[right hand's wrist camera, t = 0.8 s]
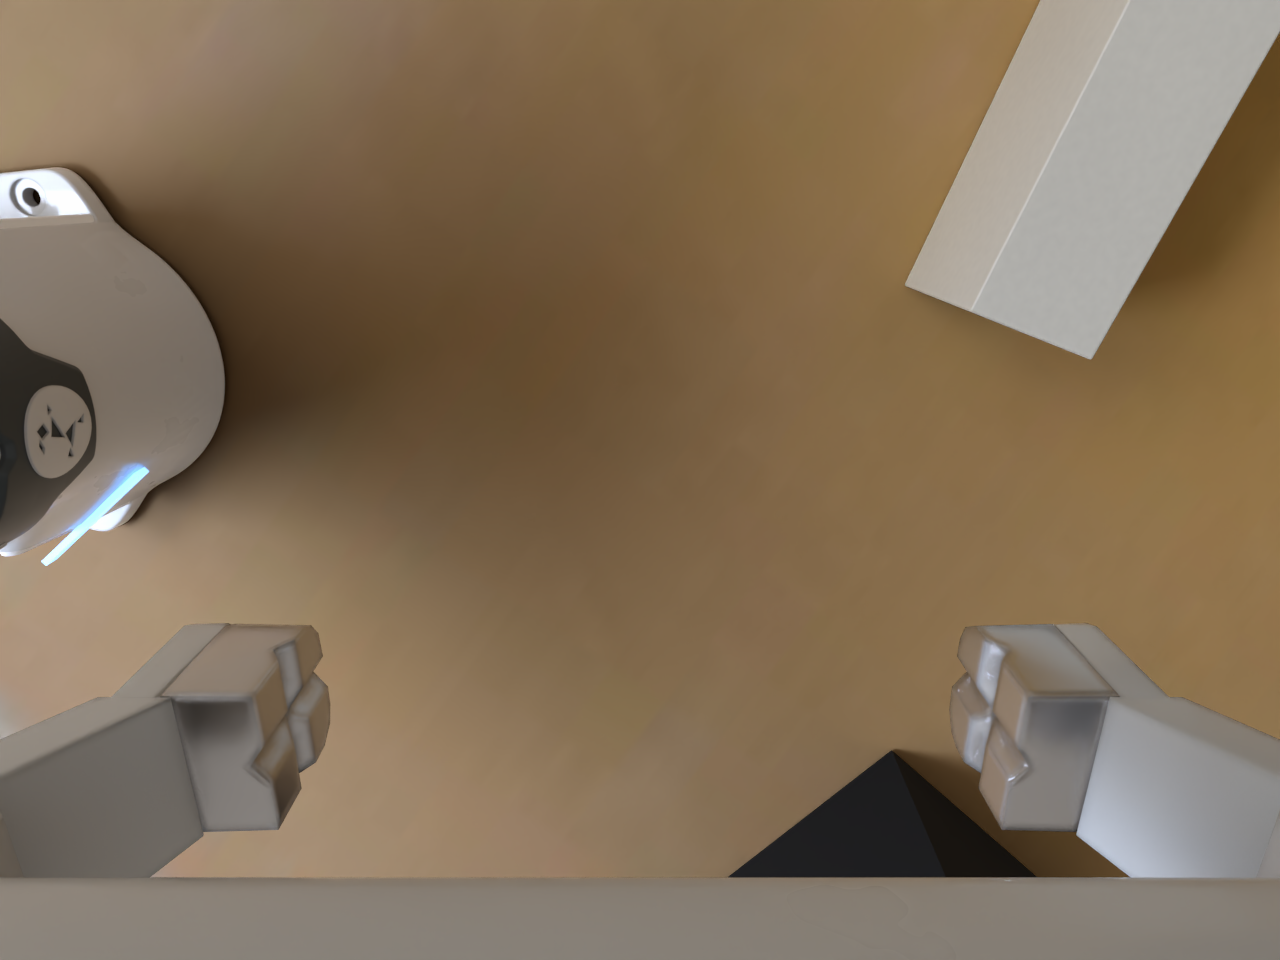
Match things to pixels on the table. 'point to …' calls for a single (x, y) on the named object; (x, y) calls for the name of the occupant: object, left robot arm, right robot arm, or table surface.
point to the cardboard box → (885, 835)
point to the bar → (1089, 159)
